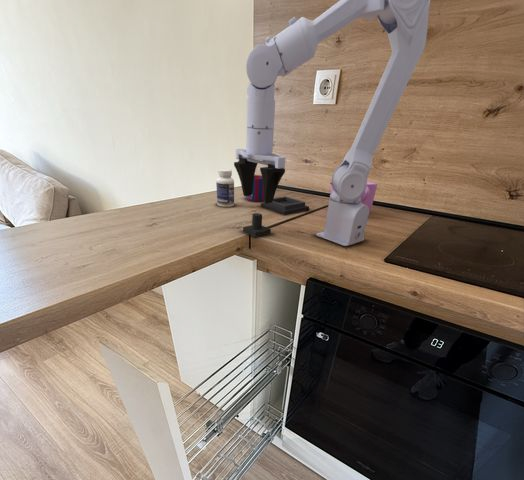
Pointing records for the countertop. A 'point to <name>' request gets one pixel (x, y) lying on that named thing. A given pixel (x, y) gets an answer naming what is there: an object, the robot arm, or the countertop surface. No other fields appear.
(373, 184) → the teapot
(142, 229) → the countertop surface
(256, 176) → the mug
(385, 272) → the countertop surface
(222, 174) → the pill bottle
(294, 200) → the base pad
